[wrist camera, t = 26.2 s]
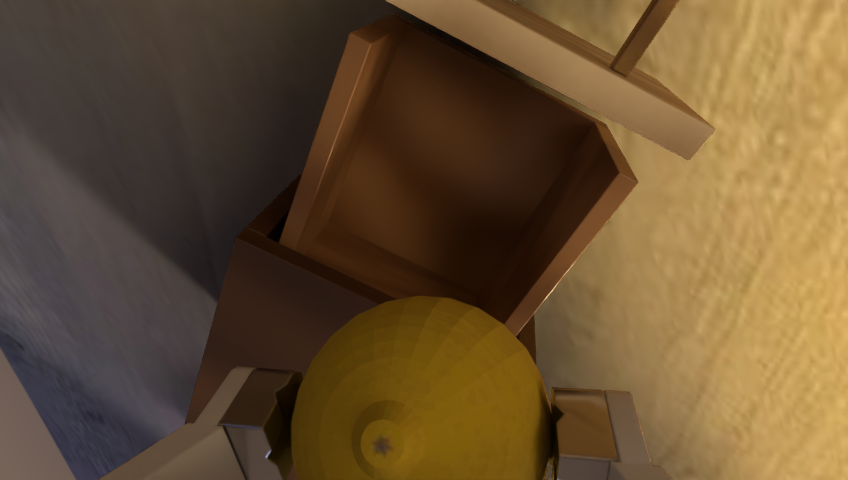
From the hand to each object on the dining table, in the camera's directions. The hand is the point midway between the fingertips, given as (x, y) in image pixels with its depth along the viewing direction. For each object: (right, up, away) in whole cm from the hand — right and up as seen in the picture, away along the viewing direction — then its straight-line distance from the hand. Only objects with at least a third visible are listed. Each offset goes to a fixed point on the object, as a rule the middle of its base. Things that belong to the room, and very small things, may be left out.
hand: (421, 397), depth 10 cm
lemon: (+1, -2, +4) cm, 5 cm away
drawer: (+3, +10, +13) cm, 16 cm away
